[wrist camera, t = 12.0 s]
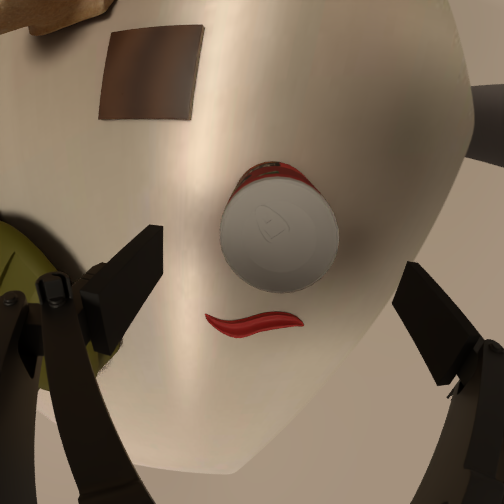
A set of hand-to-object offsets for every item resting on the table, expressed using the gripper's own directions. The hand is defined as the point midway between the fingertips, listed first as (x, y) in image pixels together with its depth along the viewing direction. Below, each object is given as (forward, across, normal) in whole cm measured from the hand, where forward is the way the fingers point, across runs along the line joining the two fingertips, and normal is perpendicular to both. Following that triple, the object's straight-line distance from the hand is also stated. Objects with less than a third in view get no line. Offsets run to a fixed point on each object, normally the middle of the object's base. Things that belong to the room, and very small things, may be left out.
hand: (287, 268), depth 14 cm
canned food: (+15, 0, 0) cm, 15 cm away
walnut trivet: (+15, -14, +12) cm, 24 cm away
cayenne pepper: (+15, 0, -15) cm, 21 cm away
